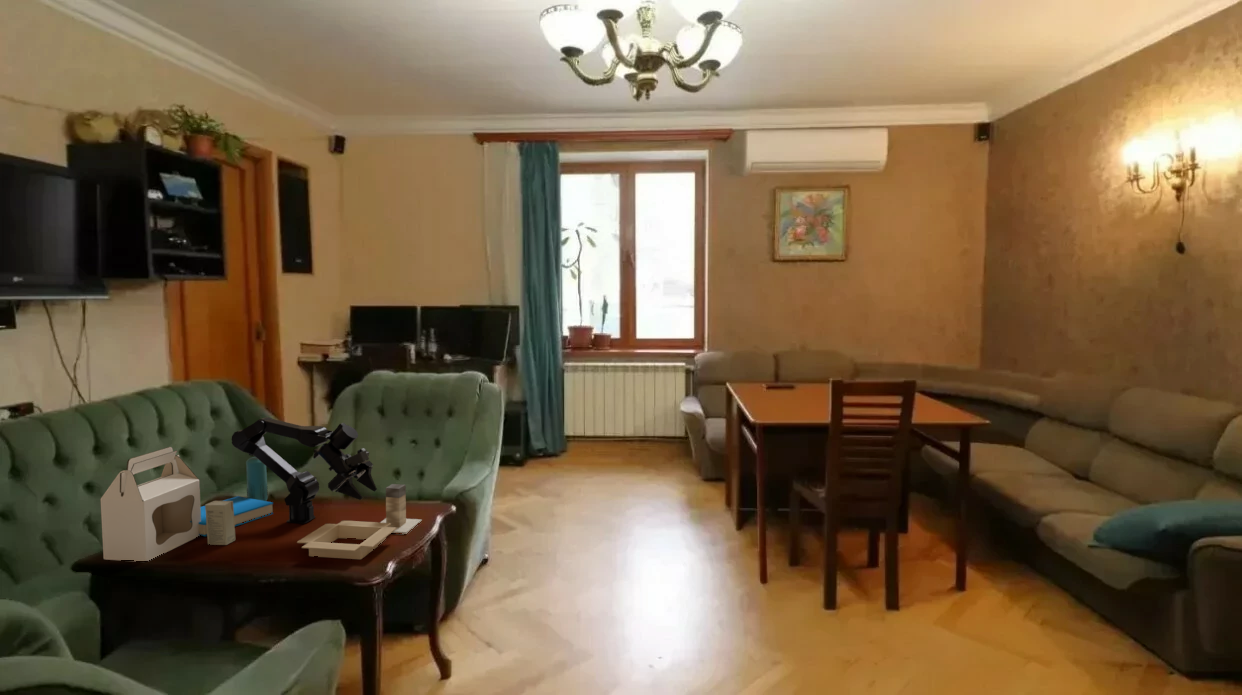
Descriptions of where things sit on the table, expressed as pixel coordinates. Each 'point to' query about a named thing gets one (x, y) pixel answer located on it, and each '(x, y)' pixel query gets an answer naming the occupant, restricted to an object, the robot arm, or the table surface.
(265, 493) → the beverage bottle
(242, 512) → the book
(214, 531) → the skincare box
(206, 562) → the table surface
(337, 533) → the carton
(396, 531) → the white square tile
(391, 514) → the capped block
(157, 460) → the gable box
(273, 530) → the table surface
